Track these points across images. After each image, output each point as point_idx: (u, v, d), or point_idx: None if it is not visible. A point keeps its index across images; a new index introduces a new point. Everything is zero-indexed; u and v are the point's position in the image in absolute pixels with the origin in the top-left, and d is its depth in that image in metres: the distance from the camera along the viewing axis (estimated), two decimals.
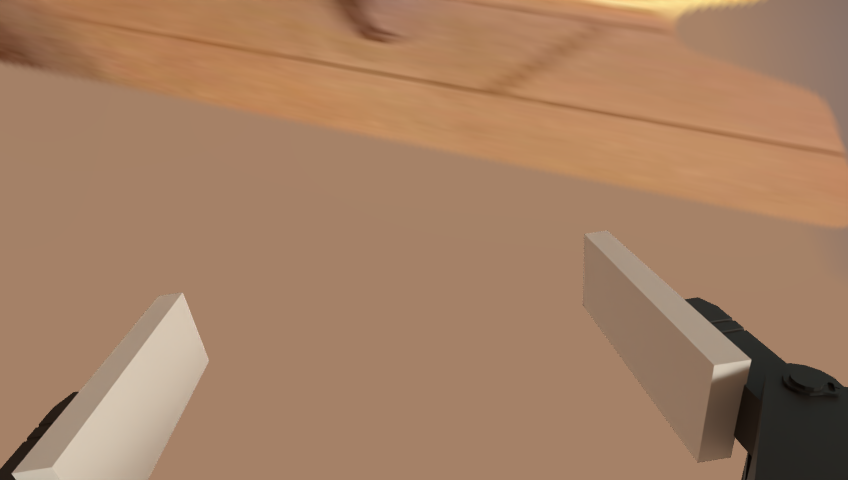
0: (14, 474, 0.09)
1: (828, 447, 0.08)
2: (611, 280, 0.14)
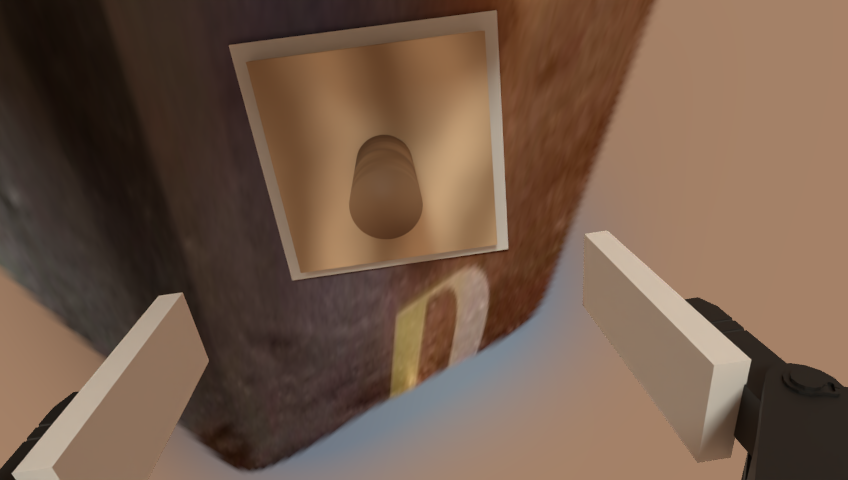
0: (14, 474, 0.09)
1: (828, 447, 0.08)
2: (610, 280, 0.14)
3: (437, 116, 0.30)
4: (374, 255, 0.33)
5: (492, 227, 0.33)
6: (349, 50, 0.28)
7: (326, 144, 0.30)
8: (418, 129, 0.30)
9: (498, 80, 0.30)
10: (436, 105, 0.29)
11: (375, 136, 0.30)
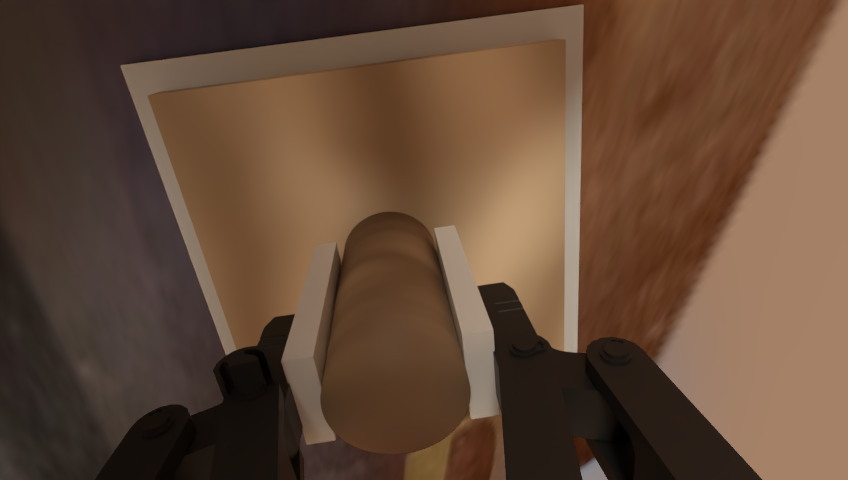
0: (283, 362, 0.11)
1: (547, 395, 0.09)
2: (442, 268, 0.16)
3: (478, 181, 0.18)
4: None
5: (558, 344, 0.21)
6: (330, 74, 0.16)
7: (293, 228, 0.18)
8: (445, 202, 0.18)
9: (578, 121, 0.18)
10: (477, 164, 0.17)
11: (375, 215, 0.18)
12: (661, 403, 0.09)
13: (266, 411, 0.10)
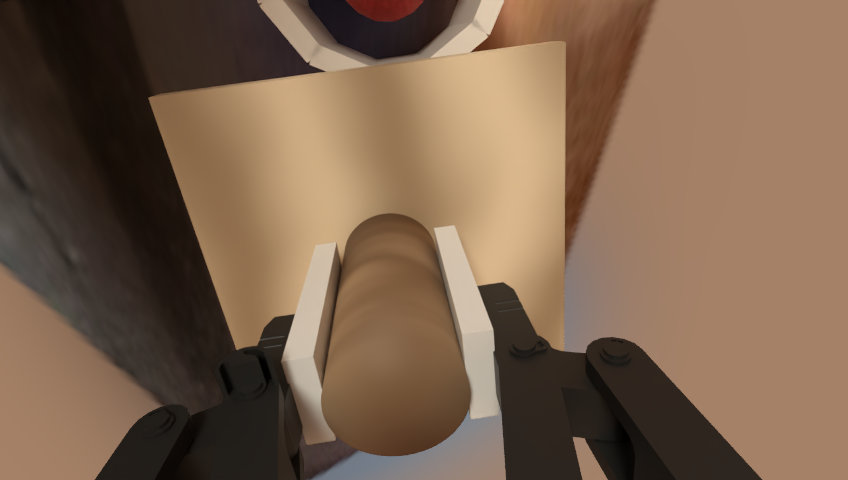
0: (283, 362, 0.11)
1: (547, 395, 0.09)
2: (441, 268, 0.16)
3: (478, 183, 0.18)
4: None
5: (558, 346, 0.21)
6: (330, 76, 0.16)
7: (294, 229, 0.18)
8: (446, 204, 0.18)
9: None
10: (477, 166, 0.17)
11: (375, 216, 0.18)
12: (661, 403, 0.09)
13: (266, 411, 0.10)
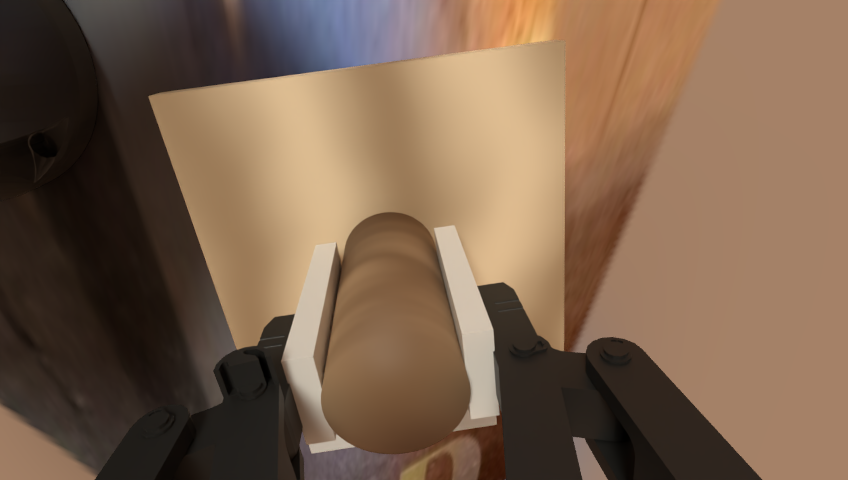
0: (283, 361, 0.11)
1: (547, 395, 0.09)
2: (441, 268, 0.16)
3: (478, 182, 0.18)
4: None
5: (558, 344, 0.21)
6: (330, 75, 0.16)
7: (294, 228, 0.18)
8: (445, 202, 0.18)
9: None
10: (477, 165, 0.17)
11: (375, 215, 0.18)
12: (661, 403, 0.09)
13: (266, 411, 0.10)
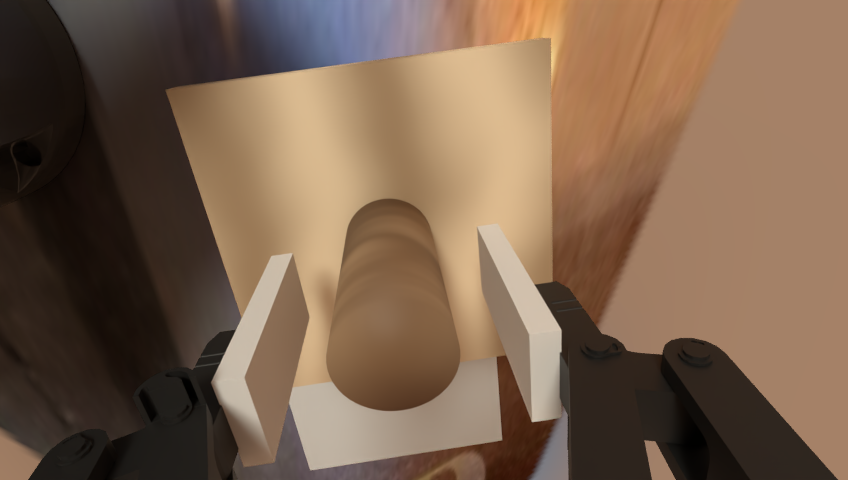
0: (213, 383, 0.11)
1: (619, 399, 0.09)
2: (489, 267, 0.15)
3: (471, 170, 0.19)
4: None
5: None
6: (333, 69, 0.17)
7: (299, 213, 0.19)
8: (440, 190, 0.19)
9: None
10: (470, 154, 0.19)
11: (375, 201, 0.19)
12: (743, 409, 0.08)
13: (193, 433, 0.10)
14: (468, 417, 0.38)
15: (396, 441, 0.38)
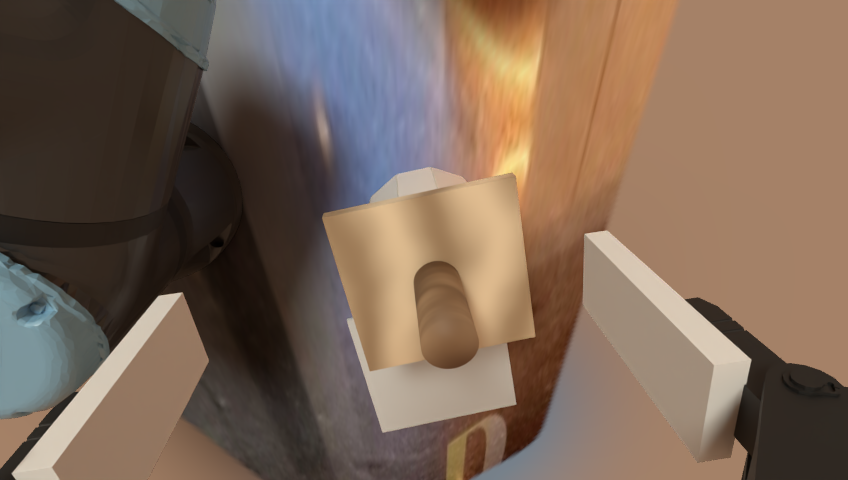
0: (14, 474, 0.09)
1: (828, 447, 0.08)
2: (611, 280, 0.14)
3: (479, 243, 0.35)
4: None
5: (530, 323, 0.39)
6: (405, 201, 0.34)
7: (388, 272, 0.36)
8: (463, 254, 0.36)
9: None
10: (478, 235, 0.35)
11: (428, 263, 0.35)
12: None
13: None
14: (491, 388, 0.54)
15: (441, 408, 0.55)
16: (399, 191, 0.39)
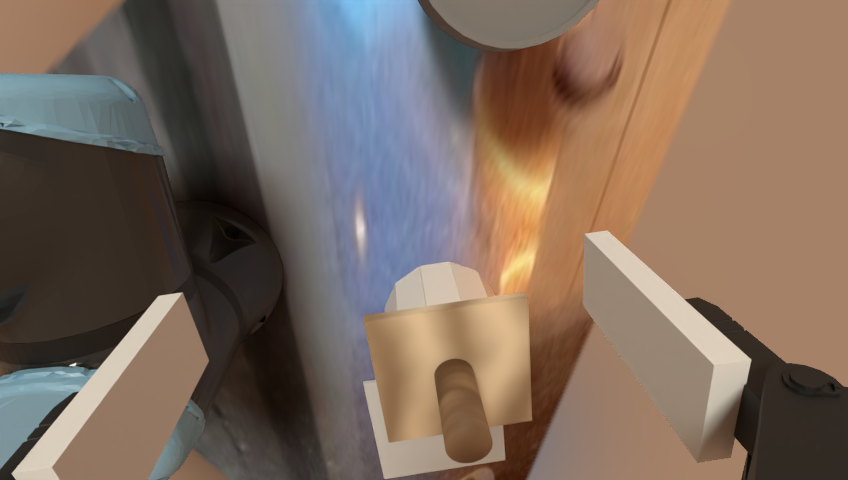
0: (14, 474, 0.09)
1: (828, 447, 0.08)
2: (611, 280, 0.14)
3: (492, 346, 0.42)
4: None
5: (528, 410, 0.45)
6: (434, 312, 0.40)
7: (414, 365, 0.42)
8: (478, 354, 0.42)
9: None
10: (492, 340, 0.42)
11: (449, 360, 0.42)
12: None
13: None
14: None
15: (439, 460, 0.61)
16: (425, 290, 0.45)
